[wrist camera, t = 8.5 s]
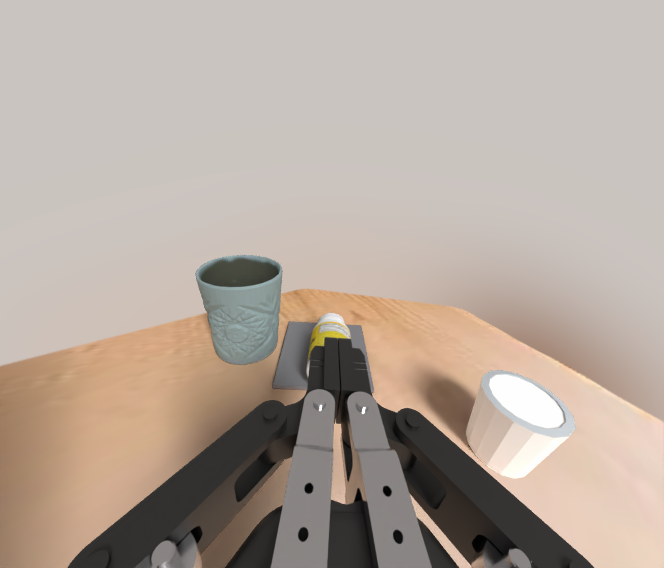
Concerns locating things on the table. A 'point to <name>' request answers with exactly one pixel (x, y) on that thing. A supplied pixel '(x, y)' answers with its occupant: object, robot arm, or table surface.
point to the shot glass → (516, 423)
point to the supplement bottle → (327, 332)
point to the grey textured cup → (242, 306)
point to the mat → (306, 355)
